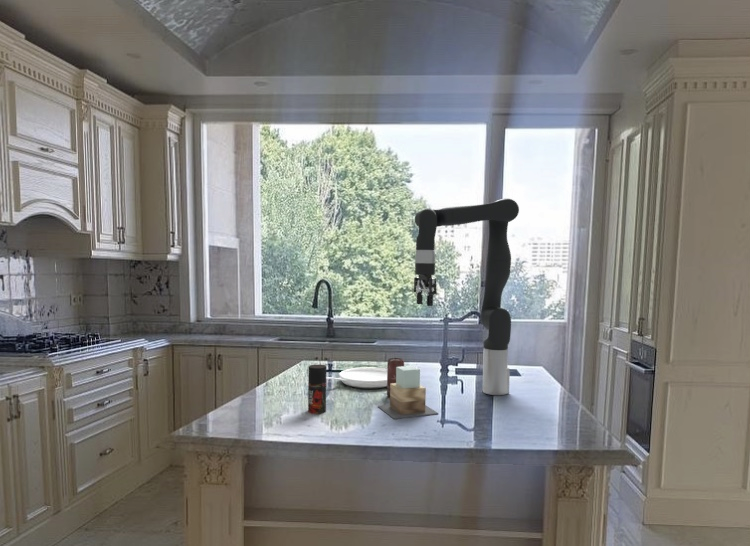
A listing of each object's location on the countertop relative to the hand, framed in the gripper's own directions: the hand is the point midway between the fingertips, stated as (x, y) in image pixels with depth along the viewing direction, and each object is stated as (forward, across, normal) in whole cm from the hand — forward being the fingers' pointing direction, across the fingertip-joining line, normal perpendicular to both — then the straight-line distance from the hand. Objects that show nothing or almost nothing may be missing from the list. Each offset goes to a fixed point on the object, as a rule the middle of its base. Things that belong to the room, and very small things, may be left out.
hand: (424, 305), depth 180 cm
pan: (+34, +22, +19) cm, 45 cm away
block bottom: (+34, -16, +14) cm, 40 cm away
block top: (+30, -16, +14) cm, 37 cm away
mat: (+34, -16, +14) cm, 40 cm away
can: (+34, +1, +11) cm, 36 cm away
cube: (+26, -16, +14) cm, 33 cm away
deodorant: (+34, -7, +43) cm, 55 cm away
